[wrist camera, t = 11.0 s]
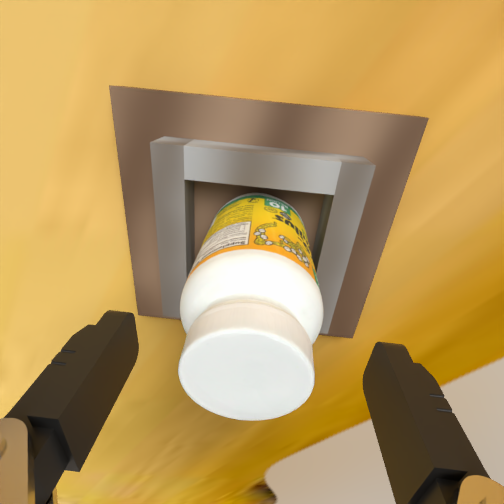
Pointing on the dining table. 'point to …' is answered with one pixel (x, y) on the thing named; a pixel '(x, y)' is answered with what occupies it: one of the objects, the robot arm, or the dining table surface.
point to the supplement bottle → (251, 312)
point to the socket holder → (259, 185)
